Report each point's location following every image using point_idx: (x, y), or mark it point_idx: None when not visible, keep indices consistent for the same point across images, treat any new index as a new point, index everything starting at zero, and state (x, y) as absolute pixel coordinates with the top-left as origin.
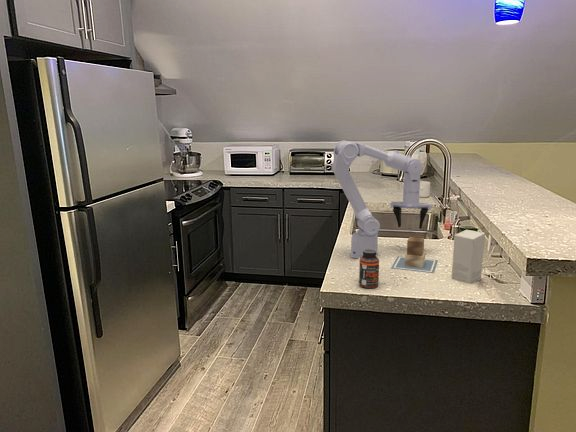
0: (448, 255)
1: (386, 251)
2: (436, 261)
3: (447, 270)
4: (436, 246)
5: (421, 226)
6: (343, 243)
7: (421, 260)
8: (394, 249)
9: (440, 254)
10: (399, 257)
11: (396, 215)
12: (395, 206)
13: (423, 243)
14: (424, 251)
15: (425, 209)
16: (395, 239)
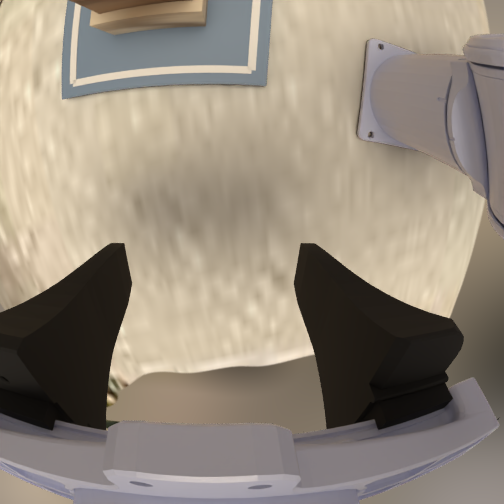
0: (55, 221)
1: (328, 192)
2: (65, 75)
3: (33, 26)
4: (128, 315)
5: (99, 251)
6: (465, 250)
7: None
8: (292, 232)
9: (82, 223)
10: (254, 61)
11: (387, 300)
12: (427, 415)
13: None
14: (94, 23)
15: (5, 396)
16: (292, 347)
